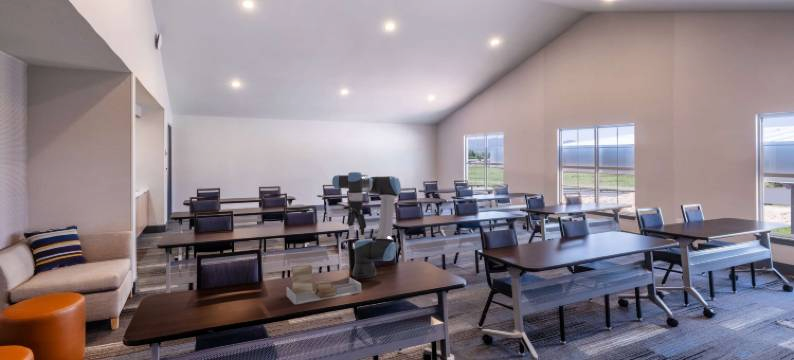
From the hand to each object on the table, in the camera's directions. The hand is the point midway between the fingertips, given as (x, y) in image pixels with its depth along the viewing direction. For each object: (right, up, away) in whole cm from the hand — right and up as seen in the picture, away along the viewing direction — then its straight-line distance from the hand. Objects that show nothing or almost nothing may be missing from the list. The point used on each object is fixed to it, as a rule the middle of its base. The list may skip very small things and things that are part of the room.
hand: (356, 239), depth 236 cm
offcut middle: (-17, -28, -2) cm, 33 cm away
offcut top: (-18, -26, -1) cm, 32 cm away
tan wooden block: (-28, -31, -7) cm, 42 cm away
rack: (-18, -31, -1) cm, 36 cm away
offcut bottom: (-18, -30, -1) cm, 35 cm away
